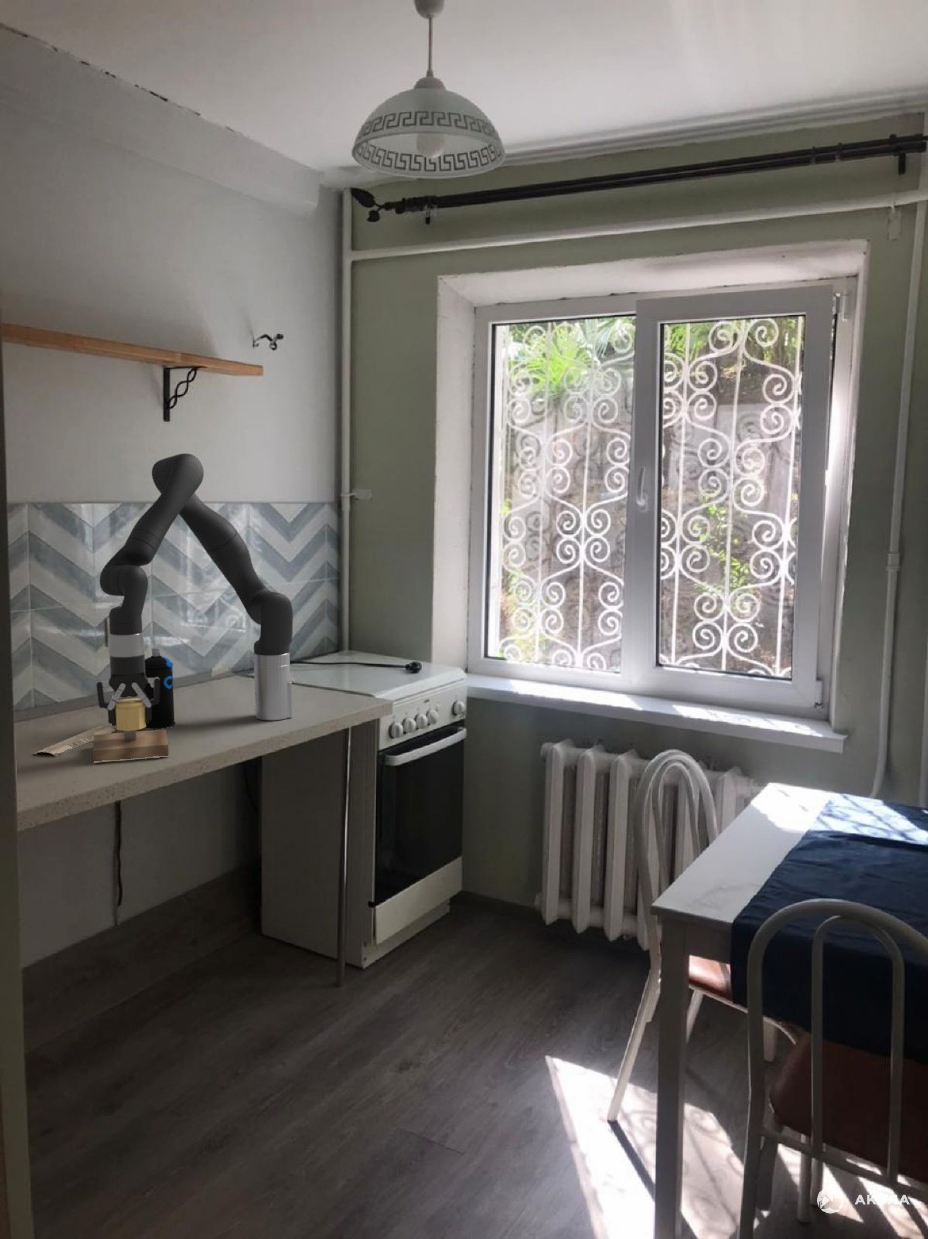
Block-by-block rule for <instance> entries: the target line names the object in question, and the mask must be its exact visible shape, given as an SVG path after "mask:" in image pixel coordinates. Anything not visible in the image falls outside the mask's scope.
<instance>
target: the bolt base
mask: <svg viewBox="0 0 928 1239" xmlns="http://www.w3.org/2000/svg"><path fill="white" fill-rule="evenodd" d="M166 731H167V730H166V729H152V730H144V731H143V730H142V731H140V730H139V731H137V730H132V731H123V732H113V733H110V734H100V735H94V741H92V742H93V744H92V745H93V746H92V761H102V760H120V759H131V758H132V759H133V758H145V757H153V756H168V755H169V743H168V742H169V741H168V737H167V732H166Z"/></svg>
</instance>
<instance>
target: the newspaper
mask: <svg viewBox="0 0 928 1239" xmlns="http://www.w3.org/2000/svg"><path fill="white" fill-rule="evenodd" d="M115 730H116V728H114V727H111V726H106V725H102V726H96V727H93V728H91V729H88V730H86V731H84V732H82V733H79V734H77V735H74V736H71V737H69V738H67V739H64V740H62V741H60V742H58V743H55V745H54V744H52V745H50V746H47V747H45V748H43V750H42V749H40V750H38V751H36V752H38V753H40V754H42V753H48V754H51V755H53V756H55V755H54V754H55V753H61V752H64V751H65V750H67V749H72V748H74V747H75V746H79V745H81V744H82V743H87V742H89V741H91V740H93V739H94V735H100V734H108V733H110V732H113V733H115V732H116V731H115ZM114 731H115V732H114ZM110 734H111V733H110ZM87 744H88V743H87ZM36 752H34V753H36ZM41 752H42V753H41Z"/></svg>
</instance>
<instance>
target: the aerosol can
mask: <svg viewBox="0 0 928 1239" xmlns="http://www.w3.org/2000/svg"><path fill="white" fill-rule="evenodd" d="M160 650H161V647H152V648H151V656H150V657H147V658H145V674H146V676H147V678H155V677H159V679H160V696H159V703H158V704H155V705H153V706H152V708H151V710H152V719H151V721H149V723H146V727H145V728H144V729H147V730H162V729H161V728H163V729H168V728H171V727H170V726H172V727H174V726H175V725H176V724H177V723H176V721H175V702H174V701H175V700H174V675H173V674H174V672H173V666H174V662H172V661H171V660H170V659H169V658H168V657H165V656H163V655H161V653H160ZM143 691H144V692H145V694H146V695H147V697H148V698H149V700H151V699H153V698H154V688H153V687H151V685H150V683H147V684H146V686H145V687H144V689H143ZM144 705H145V704H144ZM145 706H146V705H145ZM167 727H168V728H167Z"/></svg>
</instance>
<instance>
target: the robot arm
mask: <svg viewBox="0 0 928 1239" xmlns="http://www.w3.org/2000/svg"><path fill="white" fill-rule="evenodd" d="M204 473H205V472H204V467H203V465H202V463H201V461H200V459H199V458H198V457H196V455H194V454H191V453H178V454H175V455H172V456H168V457H165V458H162V459H160V460H157V461H156V462H155V463H154V464H153V466H152V469H151V477H152V478H151V479H152V481H153V484H154V485H155V487H156V489H157V491H158V492H159V493H160V495H159V497H158V498H157V499H156V500H155V501H154V502H153V504H152V505H151V506H150V507H149V508H148V509H146V511H145V512H144V514H142V515H141V517H139V519H138V520H137V521H136V522H135V525H134V526H133V528H132V530H131V531H130V533H129V535H128V537H127V539H126V541H125V543H124V544H123V546H122V547H121V548H120V549H119V550H118V551H117V552H116V553H115V554H114V555H112V557H111V558H110V559H109V560H108V561H107V562H106V564H105V566H104V567H103V568H102V570H101V573H100V575H99V586H100V588H101V591H102V592H104V594H106V595H108V596H113V597H114V596H115V597H123V600H122V603H121V605H120V606H115V607H113V608H110V610H109V613H108V622H109V625H108V626H109V641H108V646H109V648H108V653H109V667H110V669H109V670H110V677H109V679H108V680H107V679H106V680H100V679H99V680H97V681H96V691H97V702H98V707H99V708H100V709H106V710H107V719H108V720H107V721H108V723H109V724H111V726H112V727H115V712H114V706H115V704H116V702H117V701H118V700H120V698H122V699H123V698H128V697H131V698H137V696H138V697H139V699H141V700H142V701H143V702H144V704H145V705H146V706H145V717H146V723H149V721H151V719H152V710H151V708H152V706H153V705H155V704H158V703H159V696H160V679H159V677H155V678H147V676H146V674H145V659H146V658H145V651H146V650H145V641H144V634H143V621H142V620H143V618H142V616H143V611H144V607H145V606H144V605H145V602H146V597H147V595H148V594H147V593H148V588H149V579H148V575H147V573H146V571H145V570H144V569H143V566H146V565H149V564H150V563H152V561H153V560H154V558H155V556H156V554H157V553H158V551H159V548H160V547H161V544H162V542H163V541H164V539H165V537H166V535H167V533H168V532H169V530H170V528H171V526H173V523H174V522H175V520H176V518H177V517H178V516H180V517H181V519H182V520H183V521H184V522H185V524H186V526H188V528H189V530H190V531H191V532H192V533H193V535H194V536H195V538H196V539H197V540H198V542H199V543H200V544H201V546H202V548H203V549H204V551H205V552H206V554H207V555H208V556H209V558H210V559H211V561H212V562H213V563H214V564H215V566H216V567H217V568H218V570H219V571H220V572H221V574H222V576H223V577H224V578H225V580H226V581H227V582H228V583H229V585H230V586H231V587H232V588H233V590H234V592H235V593H236V595H237V597H238V598H239V600H240V602H241V604H242V606H243V607H244V608H243V609H244V610H245V611H246V613H247V615H248V617H250V619H251V620H252V621H253V622H254V623H255V624H257V625H260V631H259V632H260V634H259V639H258V640H256V641H255V642H254V643H253V667H254V668H253V670H254V671H253V673H254V674H253V675H254V678H253V679H254V707H255V708H254V711H255V712H254V714H255V718H256V719H258V720H263V721H279V720H284V719H290V718H293V685H292V684H293V683H292V681H291V666H290V665H291V658H290V657H291V656H290V654H291V653H290V651H291V650H290V648H291V647H290V646H291V644H292V641H293V628H294V627H293V624H294V623H293V622H294V611H293V605H292V602H291V600H290V598H288V597H287V595H285V594H283V593H280V592H275V591H271V590H270V589H269V588H268V587H267V586H266V585H265V584H264V582H263V581H262V580H261V579H260V577H259V575H258V574H257V572H256V571H255V569H254V566H253V562H252V558H251V554H250V551H249V547H248V546H247V544H246V542H245V540H244V538H242V536H241V534H240V533H239V532H238V530H237V529H236V528H235V526H234V525H233V524H232V522H230V521H229V520H228V519H227V518H225V517H224V516H222V515H221V514H219V513H218V512H216V511H215V510H213V509H212V508H210V507H209V506H208V505H206V504H205V503H204V502H203V501H202V500H201V499H200V498H199V496H197V494H196V491H197V490H198V489H199V488H200V486H201V485H202V482H203V480H204ZM147 683H150V685H151V687H153V688H154V698H153V699H151V700H149V698H148V697H147V695H146V694H145V692H144V691H143V689H144V687H145V686H146V684H147ZM108 686H109V687H110V688H111V689H112V690H113V691H114V692H113V694H112V695H111V698H110V699H109V701H105V694H104V691H106V690H107V687H108Z"/></svg>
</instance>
